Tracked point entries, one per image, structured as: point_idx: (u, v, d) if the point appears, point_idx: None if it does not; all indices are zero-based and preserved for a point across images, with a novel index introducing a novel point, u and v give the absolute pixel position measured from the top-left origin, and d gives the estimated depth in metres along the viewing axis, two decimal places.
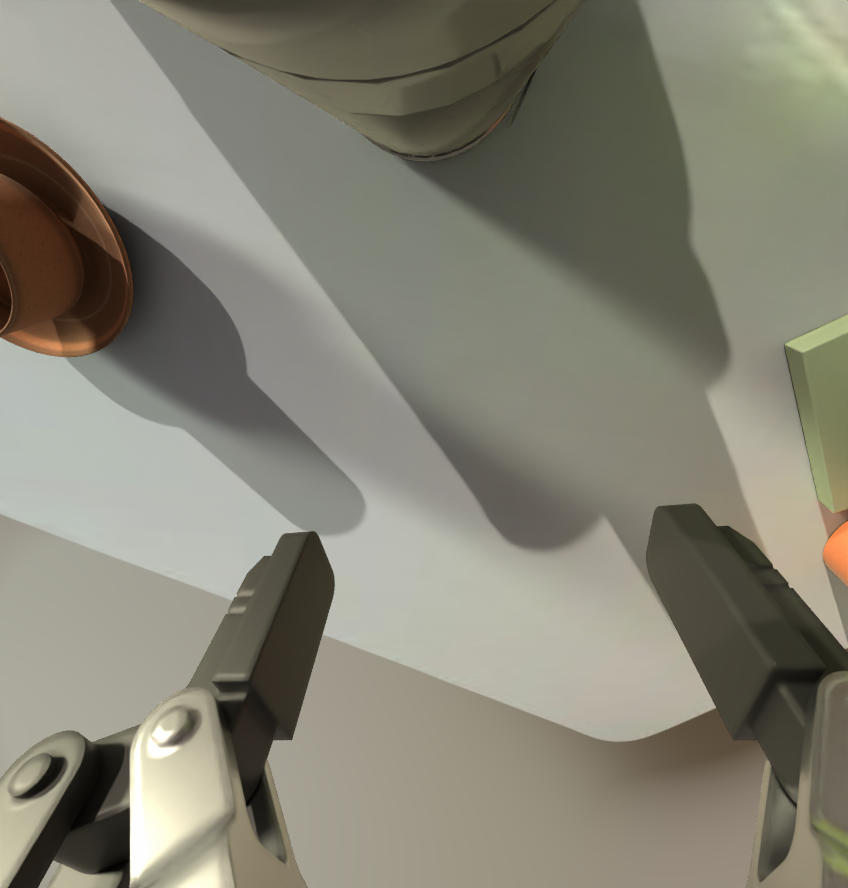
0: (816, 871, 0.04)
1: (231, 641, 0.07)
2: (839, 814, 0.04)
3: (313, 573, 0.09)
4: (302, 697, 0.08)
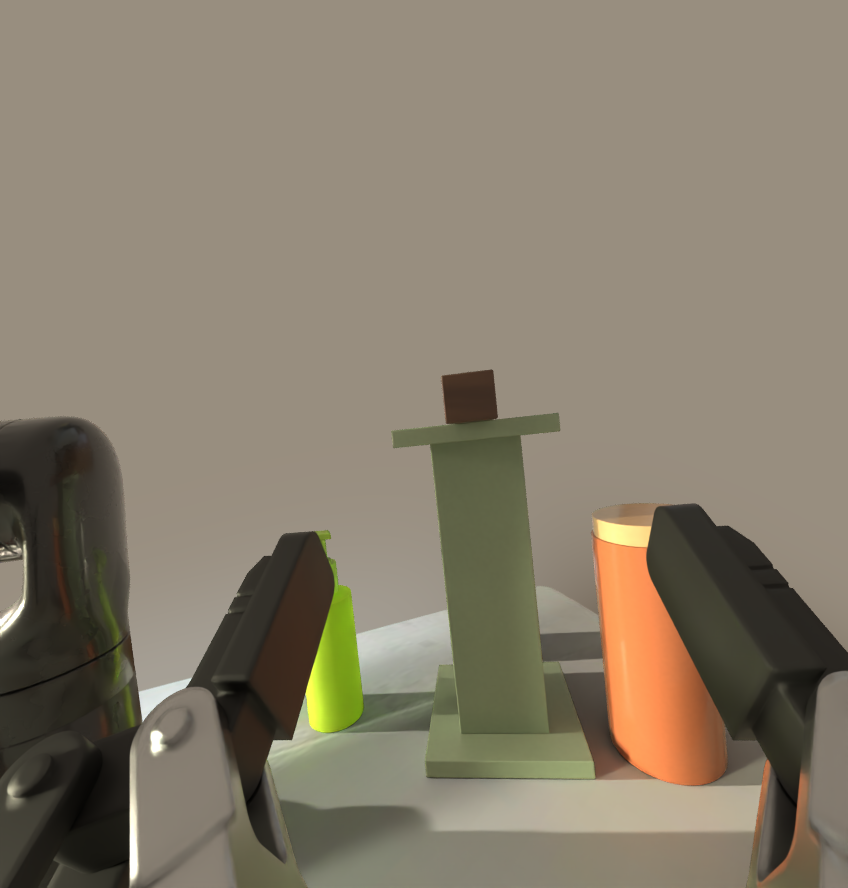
0: (817, 871, 0.04)
1: (231, 641, 0.07)
2: (839, 814, 0.04)
3: (313, 573, 0.09)
4: (302, 697, 0.08)
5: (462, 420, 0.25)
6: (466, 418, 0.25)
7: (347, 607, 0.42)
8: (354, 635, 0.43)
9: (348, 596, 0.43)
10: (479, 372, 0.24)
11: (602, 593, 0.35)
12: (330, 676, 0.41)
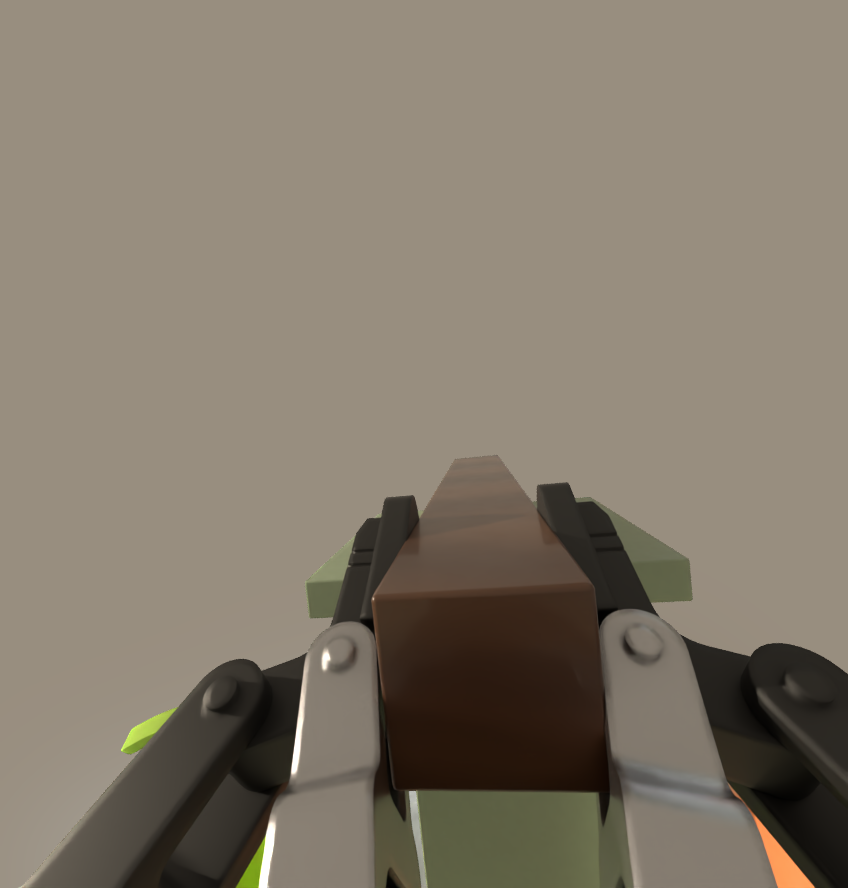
0: (623, 810, 0.04)
1: (367, 586, 0.08)
2: (630, 743, 0.05)
3: None
4: None
5: (460, 789, 0.06)
6: (478, 782, 0.06)
7: None
8: None
9: None
10: (534, 594, 0.06)
11: None
12: None
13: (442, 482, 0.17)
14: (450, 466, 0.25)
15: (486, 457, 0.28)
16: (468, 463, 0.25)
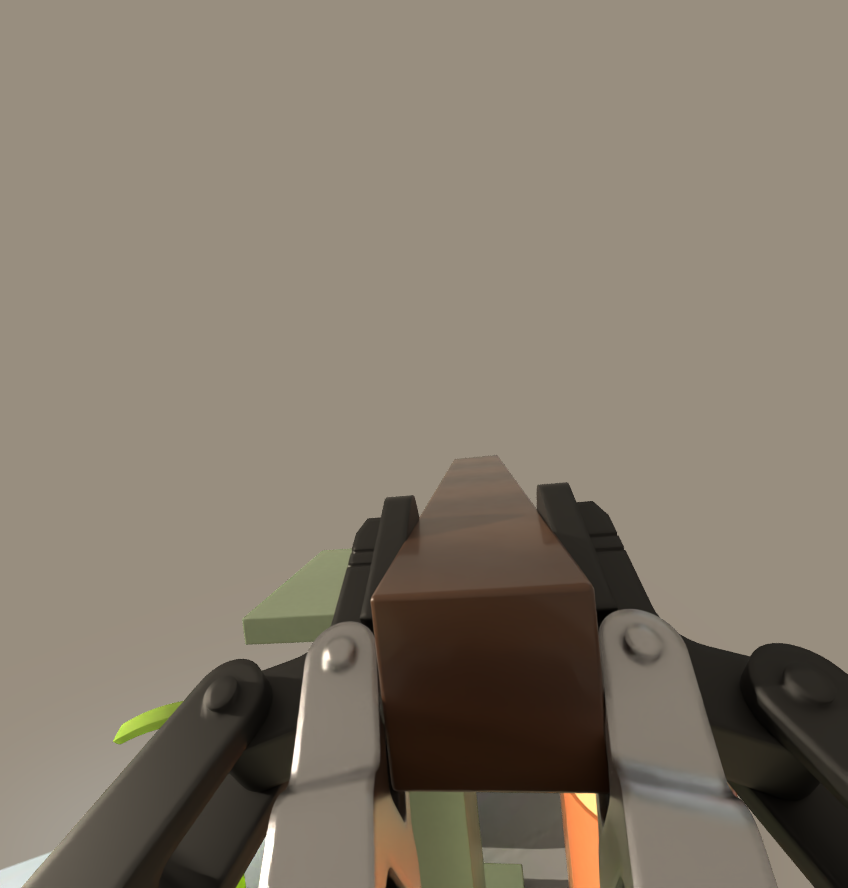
0: (623, 810, 0.04)
1: (367, 586, 0.08)
2: (630, 743, 0.05)
3: None
4: None
5: (459, 789, 0.06)
6: (477, 783, 0.06)
7: None
8: None
9: None
10: (533, 594, 0.06)
11: (572, 866, 0.23)
12: None
13: (442, 482, 0.17)
14: (450, 466, 0.25)
15: (486, 457, 0.28)
16: (468, 463, 0.25)
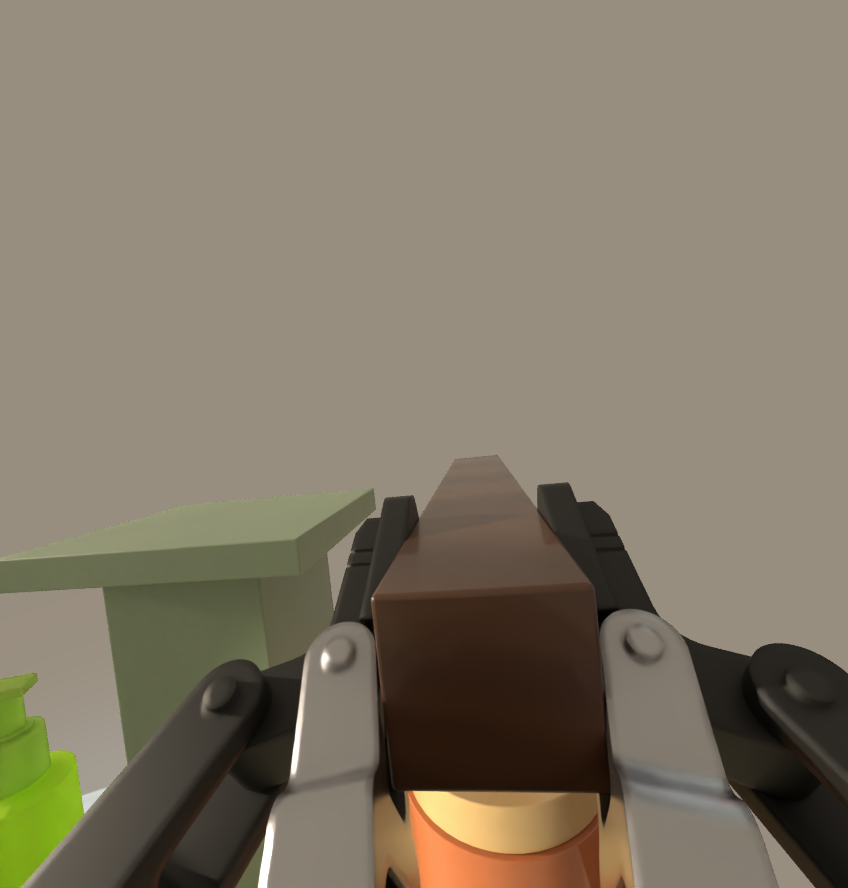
0: (624, 810, 0.04)
1: (367, 586, 0.08)
2: (631, 743, 0.05)
3: None
4: None
5: (460, 789, 0.06)
6: (478, 782, 0.06)
7: (45, 814, 0.25)
8: None
9: (52, 792, 0.26)
10: (534, 594, 0.06)
11: None
12: None
13: (442, 482, 0.17)
14: None
15: (486, 457, 0.28)
16: (468, 463, 0.25)
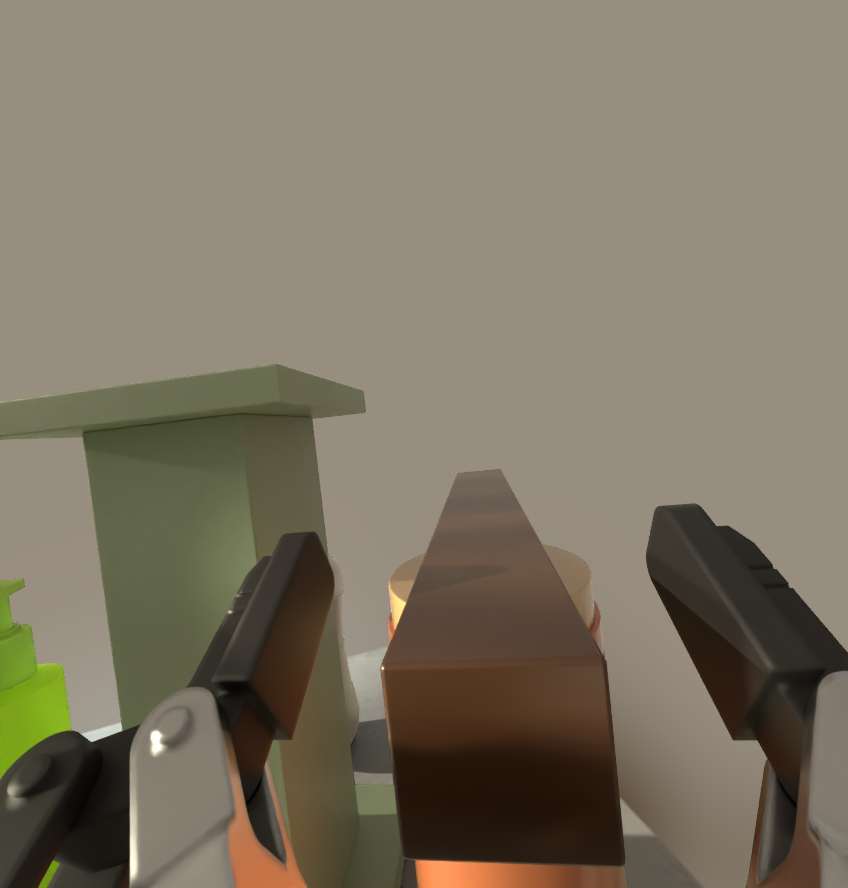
0: (816, 871, 0.04)
1: (231, 641, 0.07)
2: (839, 814, 0.04)
3: (313, 573, 0.09)
4: (302, 697, 0.08)
5: (470, 860, 0.06)
6: (489, 853, 0.06)
7: (29, 714, 0.25)
8: None
9: (37, 693, 0.26)
10: (545, 666, 0.06)
11: None
12: None
13: (446, 505, 0.17)
14: (453, 483, 0.25)
15: (489, 472, 0.28)
16: (471, 479, 0.25)
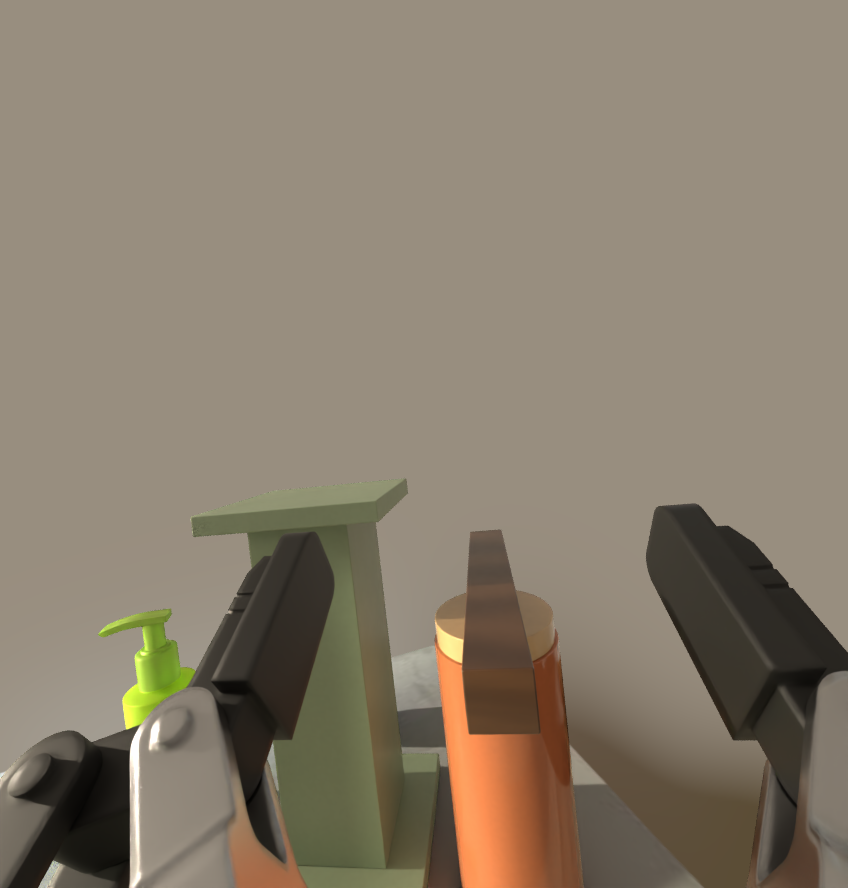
0: (816, 871, 0.04)
1: (231, 641, 0.07)
2: (839, 814, 0.04)
3: (313, 573, 0.09)
4: (302, 697, 0.08)
5: (491, 733, 0.18)
6: (497, 731, 0.18)
7: None
8: None
9: None
10: (515, 670, 0.18)
11: None
12: None
13: (469, 574, 0.30)
14: (469, 546, 0.37)
15: (493, 533, 0.40)
16: (481, 543, 0.37)
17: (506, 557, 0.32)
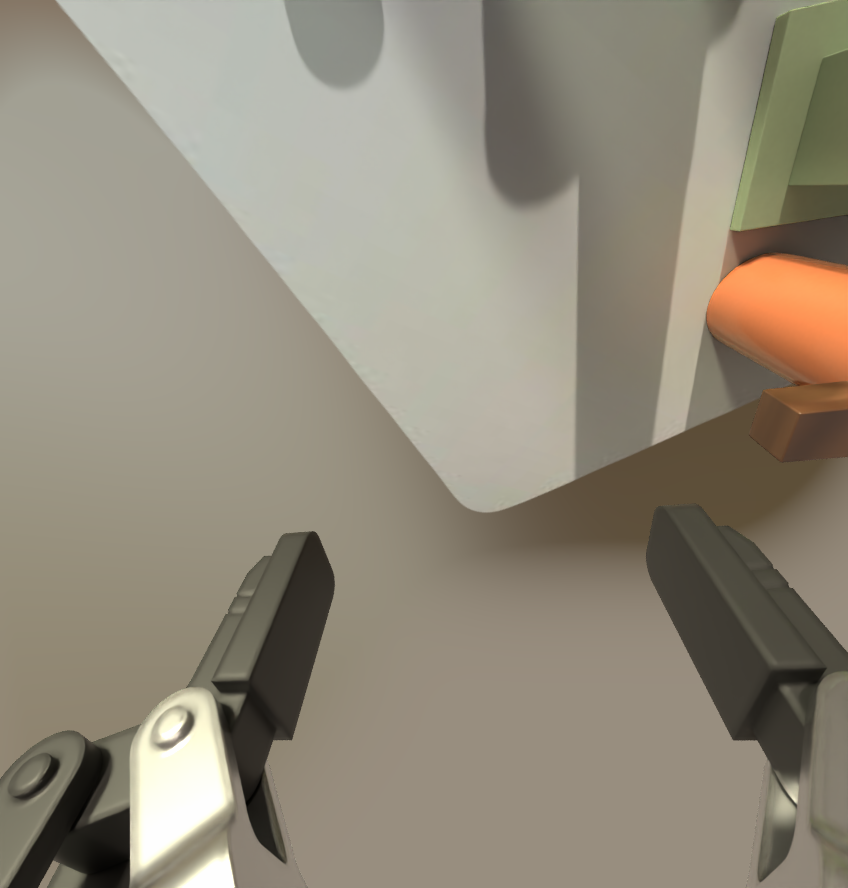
0: (816, 871, 0.04)
1: (231, 641, 0.07)
2: (839, 814, 0.04)
3: (313, 573, 0.09)
4: (302, 697, 0.08)
5: (758, 405, 0.24)
6: (758, 410, 0.24)
7: None
8: None
9: None
10: (784, 449, 0.22)
11: None
12: None
13: None
14: None
15: None
16: None
17: None
